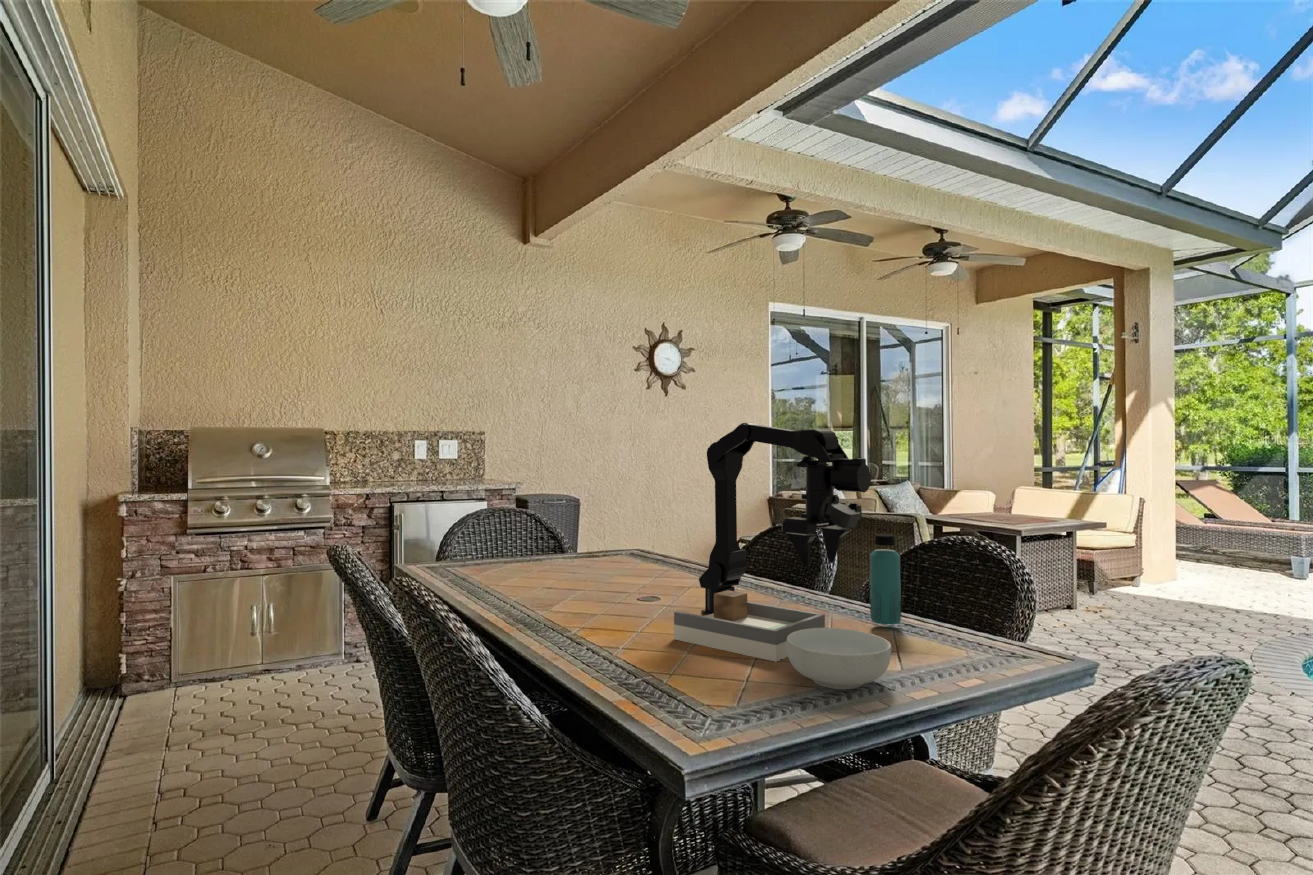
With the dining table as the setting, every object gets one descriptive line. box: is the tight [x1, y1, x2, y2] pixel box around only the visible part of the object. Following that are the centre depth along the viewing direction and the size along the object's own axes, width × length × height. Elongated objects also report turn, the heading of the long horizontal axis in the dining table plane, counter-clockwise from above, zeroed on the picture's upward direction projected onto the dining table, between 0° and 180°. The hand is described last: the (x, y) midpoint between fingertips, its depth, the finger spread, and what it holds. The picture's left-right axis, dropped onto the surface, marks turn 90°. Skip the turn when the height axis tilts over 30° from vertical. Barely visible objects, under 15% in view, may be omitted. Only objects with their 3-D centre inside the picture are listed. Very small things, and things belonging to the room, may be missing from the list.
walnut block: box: [714, 590, 748, 621], centre depth 161 cm, size 5×5×5 cm
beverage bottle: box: [869, 533, 903, 625], centre depth 164 cm, size 6×7×20 cm
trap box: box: [673, 601, 826, 662], centre depth 153 cm, size 24×18×6 cm
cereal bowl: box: [786, 627, 892, 690], centre depth 127 cm, size 17×17×7 cm
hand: (818, 564), depth 160 cm, fingers open, 9 cm apart
